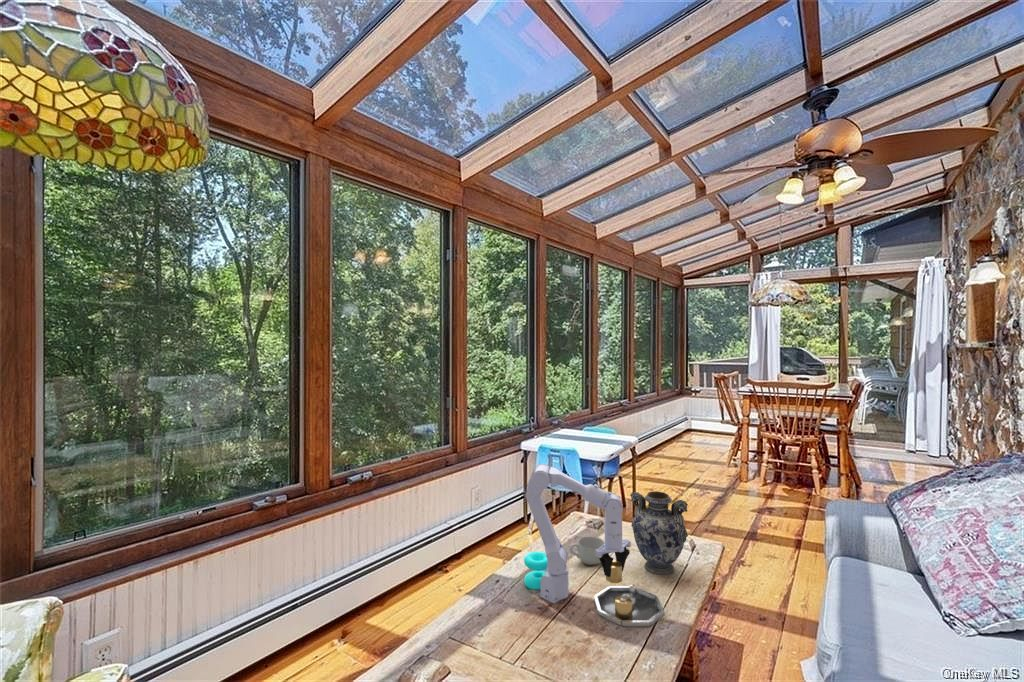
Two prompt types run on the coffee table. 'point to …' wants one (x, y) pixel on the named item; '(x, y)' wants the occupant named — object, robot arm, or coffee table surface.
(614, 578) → the gear
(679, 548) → the decorative vase
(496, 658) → the coffee table surface
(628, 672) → the coffee table surface
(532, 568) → the donuts
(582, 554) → the teacup
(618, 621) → the tray
